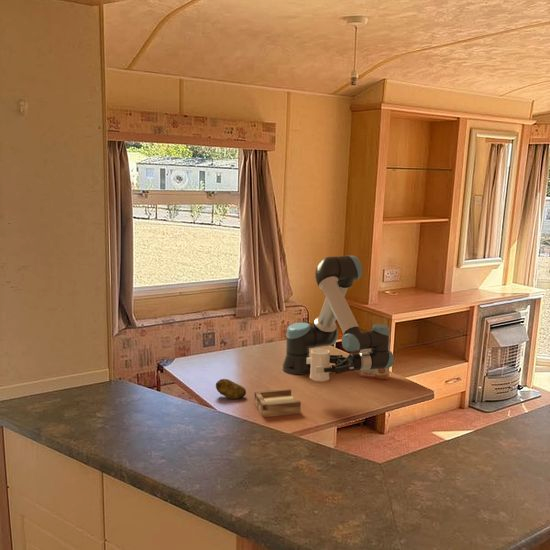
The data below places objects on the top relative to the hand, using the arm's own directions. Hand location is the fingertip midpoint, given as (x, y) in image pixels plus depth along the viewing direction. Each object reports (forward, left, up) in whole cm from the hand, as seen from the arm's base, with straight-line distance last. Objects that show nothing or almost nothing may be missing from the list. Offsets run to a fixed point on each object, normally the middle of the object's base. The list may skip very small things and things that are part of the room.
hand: (311, 365), depth 240 cm
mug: (0, +4, -7) cm, 8 cm away
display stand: (0, -15, -18) cm, 23 cm away
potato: (-16, -32, -18) cm, 40 cm away
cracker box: (-26, +42, -18) cm, 53 cm away
